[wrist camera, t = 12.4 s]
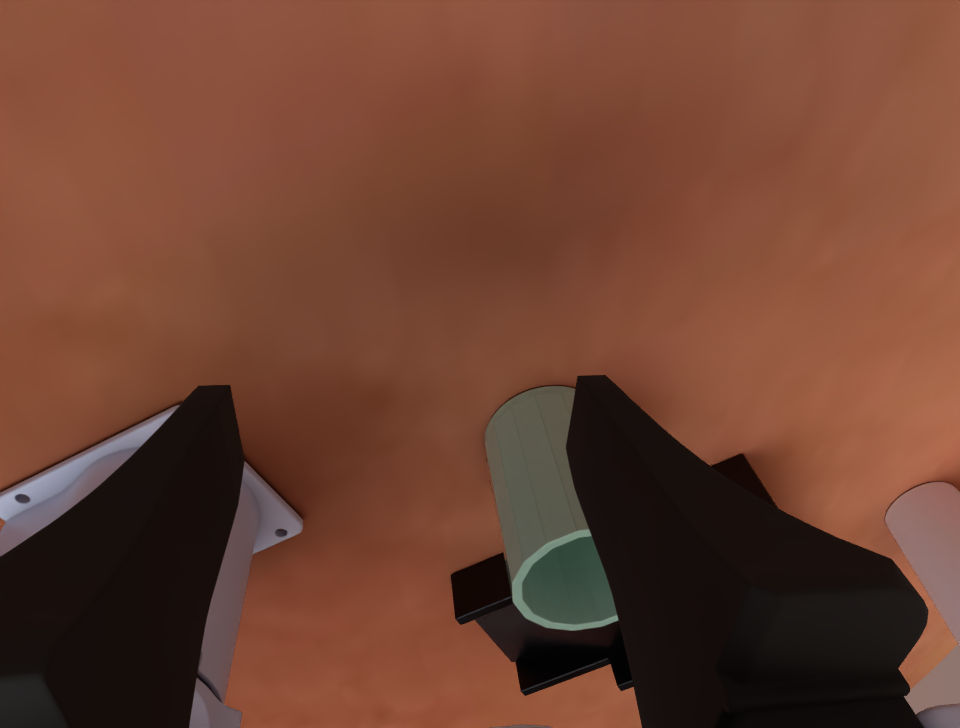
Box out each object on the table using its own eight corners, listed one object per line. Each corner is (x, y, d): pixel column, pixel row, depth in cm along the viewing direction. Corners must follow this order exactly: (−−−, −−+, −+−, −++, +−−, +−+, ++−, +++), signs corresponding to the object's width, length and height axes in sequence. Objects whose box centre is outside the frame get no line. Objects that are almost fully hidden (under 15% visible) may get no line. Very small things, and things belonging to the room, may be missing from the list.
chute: (509, 649, 37) (524, 736, 33) (452, 582, 33) (461, 673, 30) (774, 546, 35) (823, 627, 31) (745, 461, 31) (797, 542, 27)
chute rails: (517, 653, 38) (535, 755, 33) (450, 574, 33) (461, 681, 29) (776, 552, 35) (834, 648, 31) (742, 453, 31) (804, 548, 26)
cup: (462, 419, 28) (485, 569, 21) (581, 365, 27) (641, 504, 21) (514, 497, 30) (548, 647, 24) (623, 450, 30) (686, 594, 24)
